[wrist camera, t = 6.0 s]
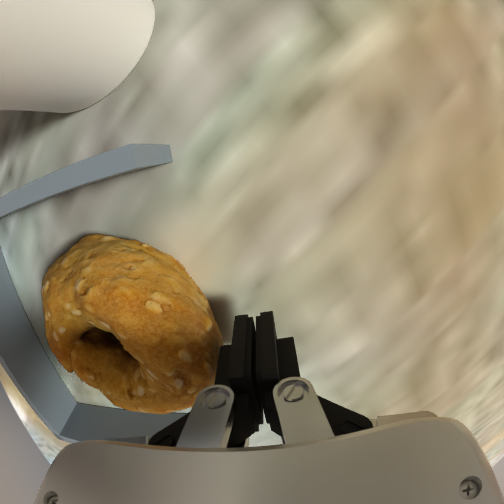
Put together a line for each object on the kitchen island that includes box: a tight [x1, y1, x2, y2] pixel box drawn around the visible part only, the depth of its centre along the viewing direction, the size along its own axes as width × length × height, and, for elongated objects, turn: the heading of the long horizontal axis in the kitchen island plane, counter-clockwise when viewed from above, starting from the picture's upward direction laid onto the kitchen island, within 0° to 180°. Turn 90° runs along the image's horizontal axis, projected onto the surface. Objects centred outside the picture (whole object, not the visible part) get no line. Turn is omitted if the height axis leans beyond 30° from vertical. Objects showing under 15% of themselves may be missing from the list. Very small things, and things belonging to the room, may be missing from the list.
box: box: [0, 144, 187, 443], centre depth 13 cm, size 18×15×4 cm
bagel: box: [41, 234, 223, 414], centre depth 12 cm, size 10×11×5 cm
